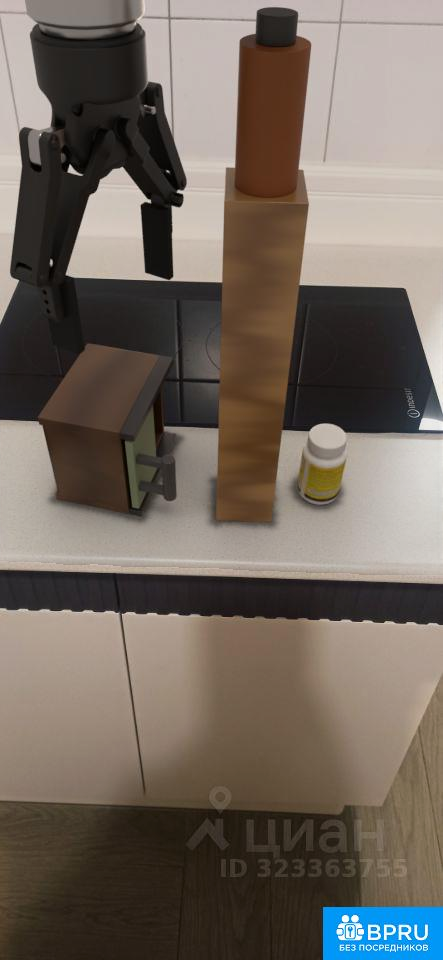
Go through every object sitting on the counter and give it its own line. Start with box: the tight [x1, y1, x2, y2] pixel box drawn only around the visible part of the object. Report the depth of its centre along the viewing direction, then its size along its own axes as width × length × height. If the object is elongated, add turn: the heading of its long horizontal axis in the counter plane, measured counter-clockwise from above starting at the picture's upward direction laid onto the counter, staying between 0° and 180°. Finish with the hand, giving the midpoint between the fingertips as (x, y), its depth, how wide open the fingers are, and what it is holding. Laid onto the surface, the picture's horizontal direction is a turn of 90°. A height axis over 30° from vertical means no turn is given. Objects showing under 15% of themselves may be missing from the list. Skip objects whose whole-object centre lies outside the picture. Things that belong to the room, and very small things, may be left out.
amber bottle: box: [234, 6, 312, 198], centre depth 45 cm, size 5×5×11 cm
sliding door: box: [125, 406, 178, 509], centre depth 70 cm, size 5×6×10 cm
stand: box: [215, 167, 310, 523], centre depth 62 cm, size 6×6×35 cm
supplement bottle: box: [296, 423, 348, 506], centre depth 73 cm, size 5×5×8 cm
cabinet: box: [37, 343, 177, 517], centre depth 73 cm, size 10×13×12 cm
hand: (117, 309), depth 59 cm, fingers open, 13 cm apart
